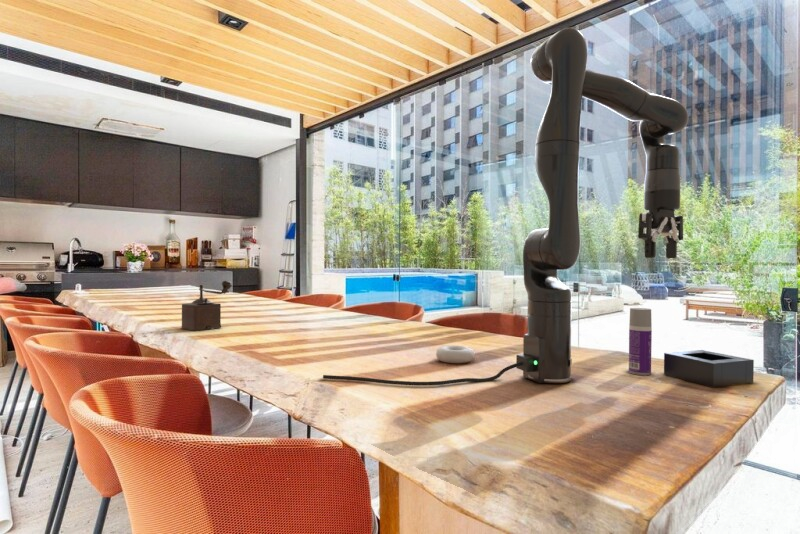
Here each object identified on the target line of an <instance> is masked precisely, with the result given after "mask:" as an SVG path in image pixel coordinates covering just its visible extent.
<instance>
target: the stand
mask: <svg viewBox="0 0 800 534" xmlns="http://www.w3.org/2000/svg"><path fill="white" fill-rule="evenodd" d="M754 362H755V360H754V359H752V358H746V357H741V356H735V355H732V354H731V355H730V354H725V353H721V352H715V351H711V350H706V349H705V350H704V349H698V350H685V351H684V350H683V351H674V352H664V353H663V375H665V376H668V377H672V378H674V379H675V378H676V379H679V380H684V381H687V382H691V383H695V384H698V385H703V386H706V387H710V388H720V387H729V386H738V385H745V384H746V385H748V384H753V383H754V368H755V365H754V364H755V363H754Z"/></svg>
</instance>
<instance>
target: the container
mask: <svg viewBox="0 0 800 534" xmlns="http://www.w3.org/2000/svg"><path fill="white" fill-rule="evenodd" d="M628 325H629V326H628V327H629V328H628V329H629V330H628V373H629V374H632V375H638V376H650V375H652V342H653V341H652V338H653V337H652V333H653V330H652V329H653V328H652V325H653V324H652V309H651V308H646V307H630V308H629V324H628Z"/></svg>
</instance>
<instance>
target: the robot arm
mask: <svg viewBox="0 0 800 534" xmlns="http://www.w3.org/2000/svg"><path fill="white" fill-rule="evenodd" d="M588 53H589V52H588V45H587V42H586V38H585V37H584V34H582V33H581V31H580V30H578V28H575V27H564V28H562V29H560V30H558V31H557V32H555V33H554V34H552V35H551V36H549V37H548V38H547V39H546V40H545V41H543V42H542V43H541V44H539V45H538V46H537V47H536V48H535V49H534V50H533V52H532V54H531V57H530V69H531V71H532V73H533V75H534V76H535V78H537V79H538V80H539V81H541V82H542V83H544V84H546V85H549V86H551V89H550V95H549V99H548V103H547V106H546V108H545V111H544V114H543V116H542V119H541V121H540V124H539V127H538V130H537V133H536V138H535V147H534V148H535V150H534V169H535V173H536V177H537V179H538V180H539V183H540V185H541V187H542V189H543V191H544V193H545V196H546V198H547V202H548V210H549V211H548V227H545V228H544V227H543V228H536V229H534V230H532V231H530V232H529V233H528V234H527V236H526V237H525V240H524V242H523V247H522V266H523V267H522V268H523V269H522V271H523V285H524V288H525V291H526V293H527V294H526V295H527V323H526V324H527V327H526V328H527V332H526V333H524V334H523V339H522V340H523V342H522V343H523V347H522V353H520V354H516V357H515V358H516V359H515V360H516V363H513V364H510V365H508V366H505V367H504V368H502V369H500V371H498V373H496V374H495V375H493V376H490V377H481V378H479V377H477V378H475V377H462V378H453V379H446V380H438V381H437V380H435V381H408V380H407V381H406V380H391V379H381V378H373V377H372V378H371V377H362V376H350V375H349V376H348V375H331V374H330V375H329V374H323V375H322V379H325V380H339V381H340V380H342V381H355V382H356V381H357V382H367V383H374V384H375V383H377V384H384V385H386V384H387V385H397V386H398V385H399V386H416V387H417V386H418V387H420V386H422V387H423V386H424V387H426V386H443V385H451V384H459V383H482V382H483V383H484V382H492V381H495V380H497V379H499V378H500V377H501V376H502V375H503V374H504V373H505V372H507V371H510V370H512V369H515V368H516V369H518V370H520V371H522V377H523V378H525V379H528V380H530V381H533V382H536V383H538V384H565V383H569V382H571V381H572V374H571V373H572V365H573V358H572V289H571V288H570V287H568V286H567V285H566V284H564V283H563V282H562V281H561V280H560V278H559V276H558V271H566V270H567V271H568V270H569V269H572V268H573V267H574V266H575V265H576V264H577V262H578V259H579V256H580V252H581V229H580V216H579V168H580V154H581V152H580V151H581V150H580V149H581V121H582V120H581V118H582V103H583V102H582V101H583V98H585V99H587V100H590V101H592V102H595V103H597V104H599V105H601V106H603V107H605V108H607V109H608V110H610V111H612V112H614V113H616V114H617V115H619V116H621V117H623V118H624V119H626V120H629V121H630V122H639V125H638V126H639V127H638V129H639V131H638V132H639V135H640V139H641V142H642V146H643V150H644V153H645V176H644V189H643V191H644V193H643V203H644V204H643V209H644V211H646V212H642V213H641V212H640V213H639V215H638V229H637V230H638V231H637V238H638V239H639V240H642V241H643V243H644V257H645V258H646V259H654V258H656V252H657V251H656V247H657V242H656V239H657V238H658V236H659V235H661V236H662V237H664V239H665V241H666V243H665V257H666V259H676V258H677V257H678V252H677V251H678V243H680V241H683V240H684V217H683V215H675V211H677V210H679V209H680V208H681V175H680V174H681V173H680V159H681V158H680V149H679V147H678V146H677V145H675V144H671V143H670V144H668V143H667V142H666V138H665V137H666V136H670V135H673V134H676V133H679V132H681V131H682V130H684V129H685V128H686V127H687V125H688V123H689V118H690V117H689V112H688V109H687V108H686V106H684V104H682V103H681V102H679V101H678V100H676V99H674V98H670V97H666V96H663V95H660V94H657V93H651V92H649V91H647V90H646V89H644V88H642V87H641V86H639V85H637V84H636V83H634V82H632V81H630V80H628V79H626V78H624V77H619V76H615V75H610V74H605V73H600V72H595V71H592V70H589V69H587V64H588Z"/></svg>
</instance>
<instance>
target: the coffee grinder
mask: <svg viewBox="0 0 800 534" xmlns="http://www.w3.org/2000/svg"><path fill="white" fill-rule="evenodd" d="M221 286H222V288H221V289H222V290H221V291H216V290H208V289H205V288H204V285H203V284H199V288H198V290H199V298H196V299H195V300H193V301H192V302H189V303H187V302H186V303H181V329H182V328H183V330H186V331H188V330H189V331H193V332H198V331H199V332H200V331H206V330H208V331H209V330H214V329H220V328H222V326H221V322H222V321H221V314H222V313H221V310H222V309H221V307H222V306H221V305H222V304H221V303H220V302H219V303H217V302H212V301H211V300H209V299H208V298H204V296H203V295H204V293H210V294H215V295H216V294H217V295H222V294H223V295H225V294H229V293H230V289H231V288H232V287H233V283H232V281H231V280H226V279H225V280H222V282H221Z"/></svg>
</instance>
